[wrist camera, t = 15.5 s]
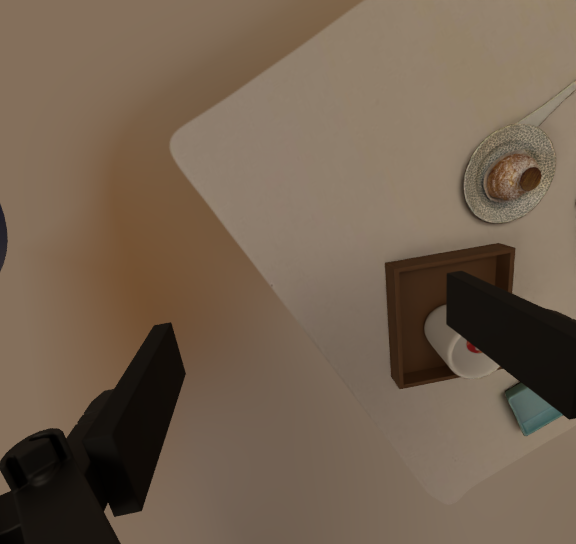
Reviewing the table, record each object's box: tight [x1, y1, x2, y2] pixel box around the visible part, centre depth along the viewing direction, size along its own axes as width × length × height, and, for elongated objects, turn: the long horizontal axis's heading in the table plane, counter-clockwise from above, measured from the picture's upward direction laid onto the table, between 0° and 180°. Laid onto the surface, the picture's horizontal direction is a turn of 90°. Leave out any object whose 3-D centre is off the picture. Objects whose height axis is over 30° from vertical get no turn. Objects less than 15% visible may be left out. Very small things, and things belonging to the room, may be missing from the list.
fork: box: [516, 80, 576, 127], centre depth 39 cm, size 3×21×3 cm, turn 132°
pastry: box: [464, 124, 556, 223], centre depth 39 cm, size 12×12×5 cm
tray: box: [385, 243, 515, 389], centre depth 45 cm, size 16×18×3 cm
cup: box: [424, 305, 500, 379], centre depth 43 cm, size 11×8×8 cm
